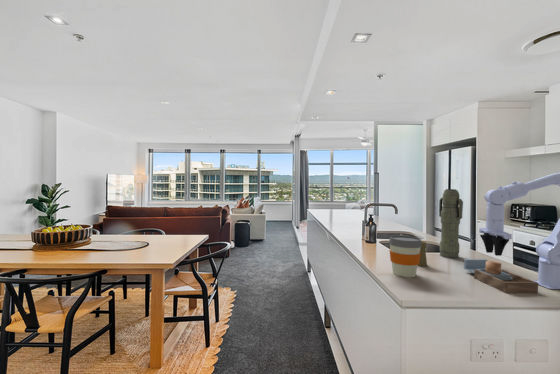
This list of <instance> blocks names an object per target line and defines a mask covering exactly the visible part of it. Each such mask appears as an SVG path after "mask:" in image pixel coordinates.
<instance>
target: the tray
mask: <svg viewBox="0 0 560 374" xmlns="http://www.w3.org/2000/svg"><path fill="white" fill-rule="evenodd" d="M463 261H464V262H463V270H466V271H468V272H470V273H472V274H474V269H477V270H479V271H481V272H484V273H486V272H485V270H486V261H489V260H488V259H486V258H485V259H484V258H483V259H482V258H481V259H479V258H476V259H475V258H472V259H471V258H468V259H467V258H464V259H463ZM486 274H488V273H486ZM488 275H491V274H488ZM491 276H493V277H495V278H498V279H500V280H513V278H511V277H510V276H511V275H509V274H507V273H504V272H502V271H501V275H491Z"/></svg>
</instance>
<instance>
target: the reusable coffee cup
mask: <svg viewBox="0 0 560 374" xmlns="http://www.w3.org/2000/svg"><path fill="white" fill-rule="evenodd" d="M388 240H389V241H388V244H389V248H390V249H389V258H390V262H391V266H392V274H393V273H394V275H396V276H398V277H402V276H403V278H414V277H416V276H417V271H418V267H419V266H418V264H419V260H420V254H421V253H420V248H421V246H422V245H421V241H422V239H421V238H419V237H417V236H412V235H399V234H398V235H391V236H390V237H389V239H388Z"/></svg>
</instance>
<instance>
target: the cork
mask: <svg viewBox="0 0 560 374" xmlns="http://www.w3.org/2000/svg"><path fill="white" fill-rule="evenodd" d="M421 245H422V246H421V248H420V253H421V254H420V260H419V264H418V266H417V267H427V266H428V262H427V251H426V249H427V247H428V245H427V242H426V241H424V240H421Z"/></svg>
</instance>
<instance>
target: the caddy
mask: <svg viewBox="0 0 560 374" xmlns="http://www.w3.org/2000/svg"><path fill="white" fill-rule="evenodd" d="M501 271H502V272H504V273H507V274H509V275H511V276H510V277H511V278H513V280H500V279H498V278H495V277H493V276H491V275H488V274H486V273H484V272H481V271H479V270H477V269H474V273H473V279H476V280H477V281H480V282H482V283H484V284H486V285H488V286H491V287H492V288H494V289H497V290H498V291H501V292H503V293H504V294H505V293H507V294H508V293H509V294H510V293H511V294H513V293H514V294H517V293H521V294H523V293H528V294H531V293H532V294H535V293H536V294H537V293H539V284H538V283H537V282H535V281H536V280H531V279H530V278H526V277H523V276H521V275H518V274H516V273H513V272H510V271H508V270H505V269H502V268H501Z"/></svg>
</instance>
